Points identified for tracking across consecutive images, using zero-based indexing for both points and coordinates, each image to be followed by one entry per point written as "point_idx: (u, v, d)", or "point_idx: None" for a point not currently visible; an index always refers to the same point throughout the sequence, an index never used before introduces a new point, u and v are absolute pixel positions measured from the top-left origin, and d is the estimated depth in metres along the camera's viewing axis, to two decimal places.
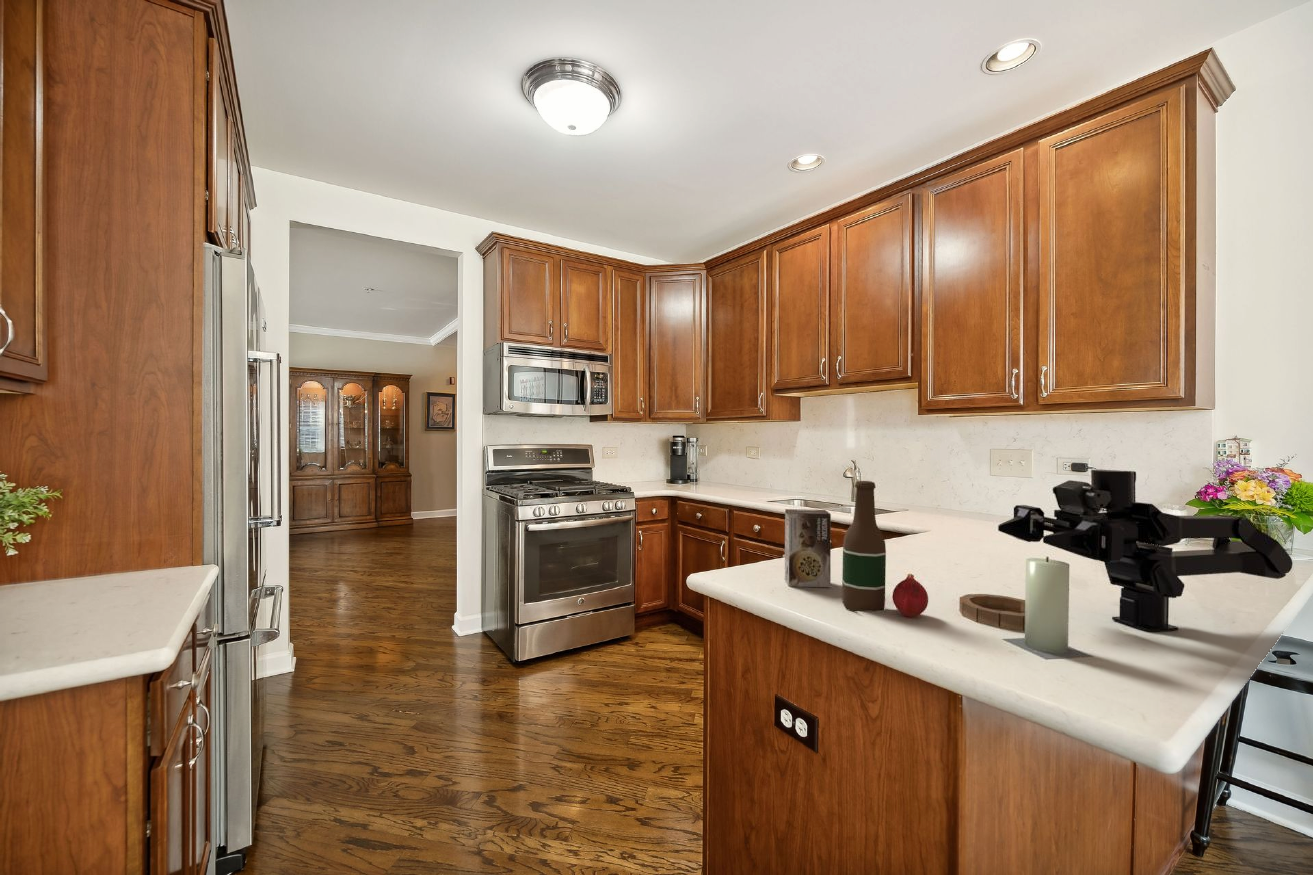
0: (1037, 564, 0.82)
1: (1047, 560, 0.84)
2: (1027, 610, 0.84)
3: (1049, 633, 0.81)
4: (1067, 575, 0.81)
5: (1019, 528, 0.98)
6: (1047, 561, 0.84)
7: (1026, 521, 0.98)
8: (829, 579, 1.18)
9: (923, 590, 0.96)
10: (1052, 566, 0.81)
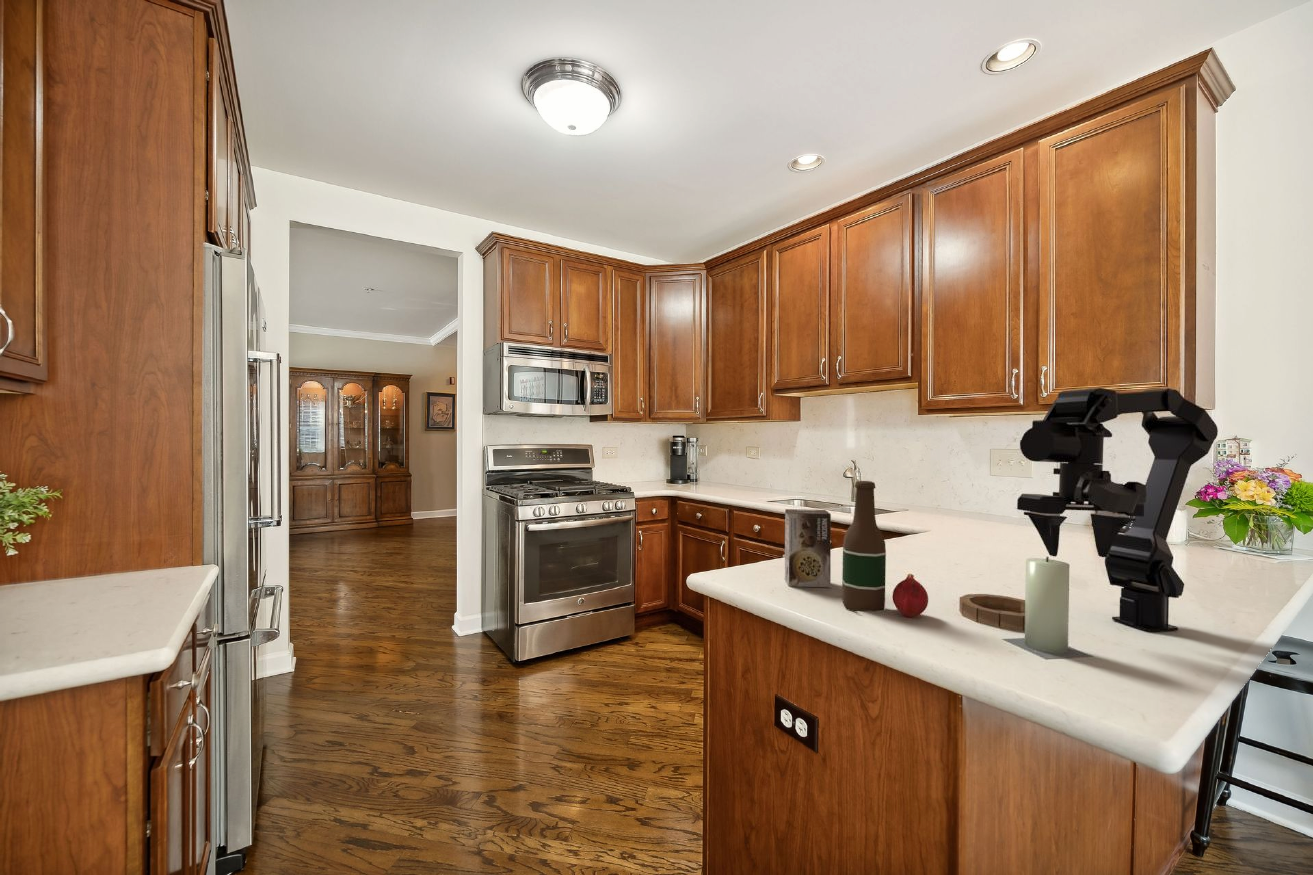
0: (1037, 564, 0.82)
1: (1047, 560, 0.84)
2: (1027, 610, 0.84)
3: (1049, 633, 0.81)
4: (1067, 575, 0.81)
5: None
6: (1047, 561, 0.84)
7: None
8: (829, 579, 1.18)
9: (923, 590, 0.96)
10: (1052, 566, 0.81)
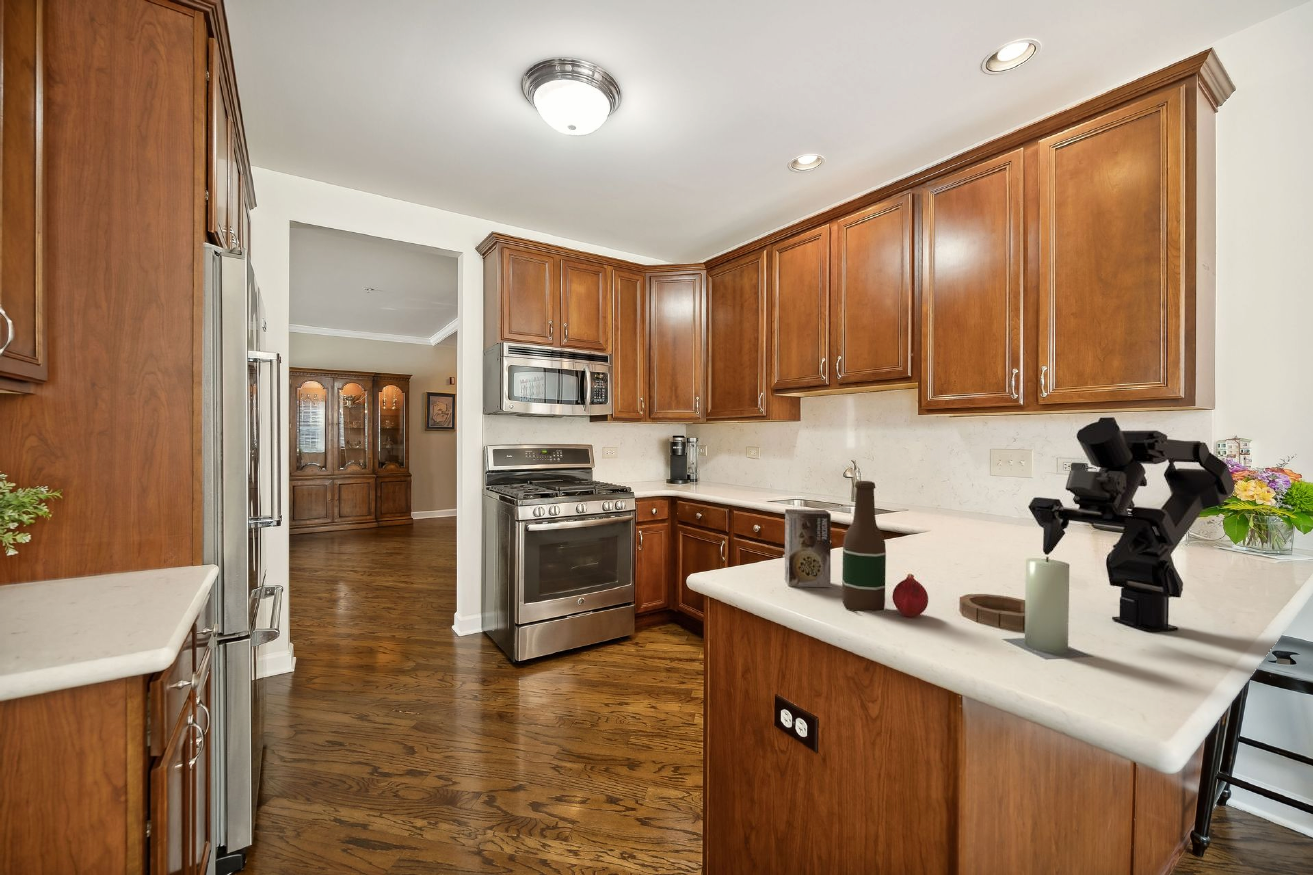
0: (1037, 564, 0.82)
1: (1047, 560, 0.84)
2: (1027, 610, 0.84)
3: (1049, 633, 0.81)
4: (1067, 575, 0.81)
5: (1055, 534, 0.93)
6: (1047, 561, 0.84)
7: (1055, 522, 0.93)
8: (829, 579, 1.18)
9: (923, 590, 0.96)
10: (1052, 566, 0.81)
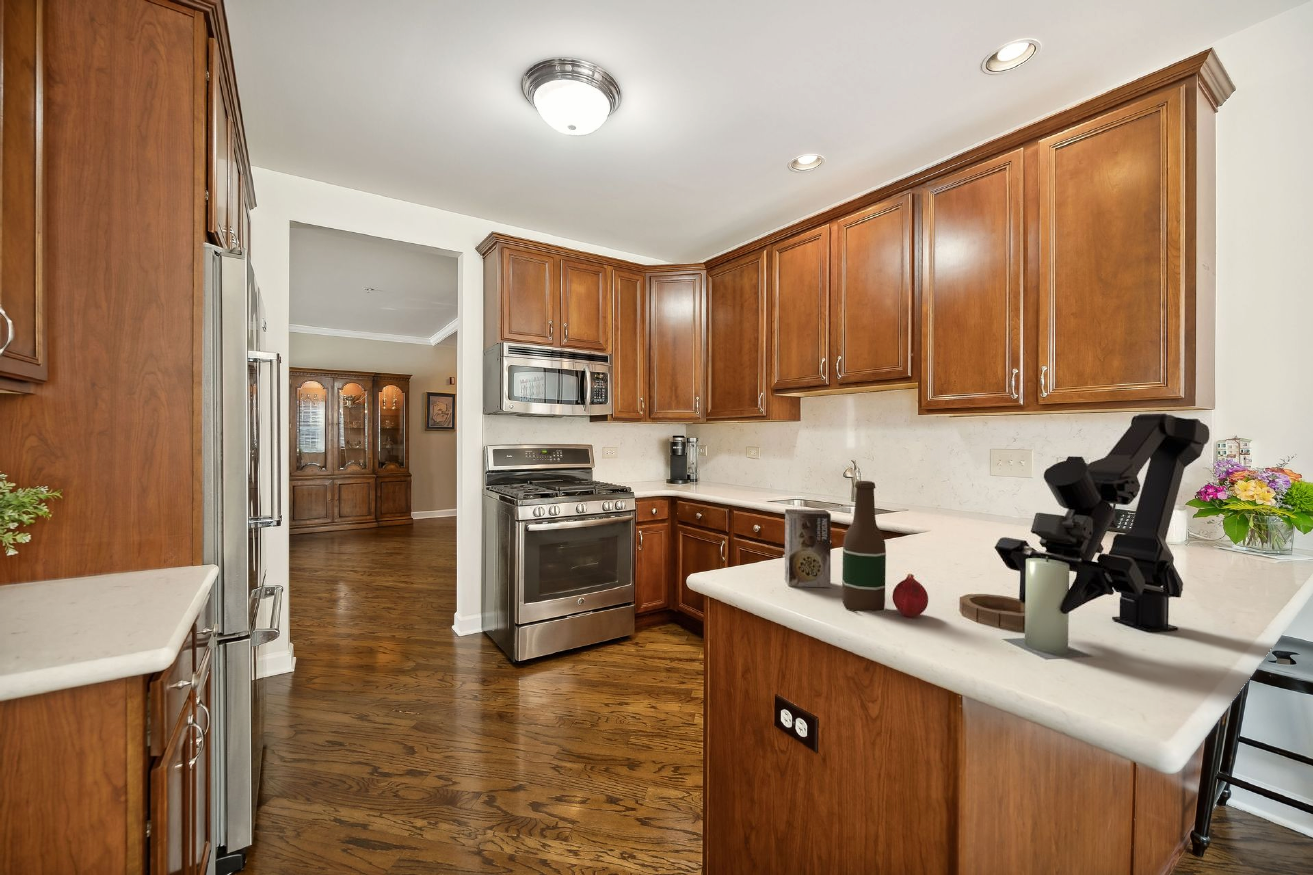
0: (1037, 564, 0.82)
1: (1047, 560, 0.84)
2: (1027, 610, 0.84)
3: (1049, 634, 0.81)
4: (1067, 575, 0.81)
5: None
6: (1047, 561, 0.84)
7: None
8: (829, 579, 1.18)
9: (923, 590, 0.96)
10: (1052, 566, 0.81)
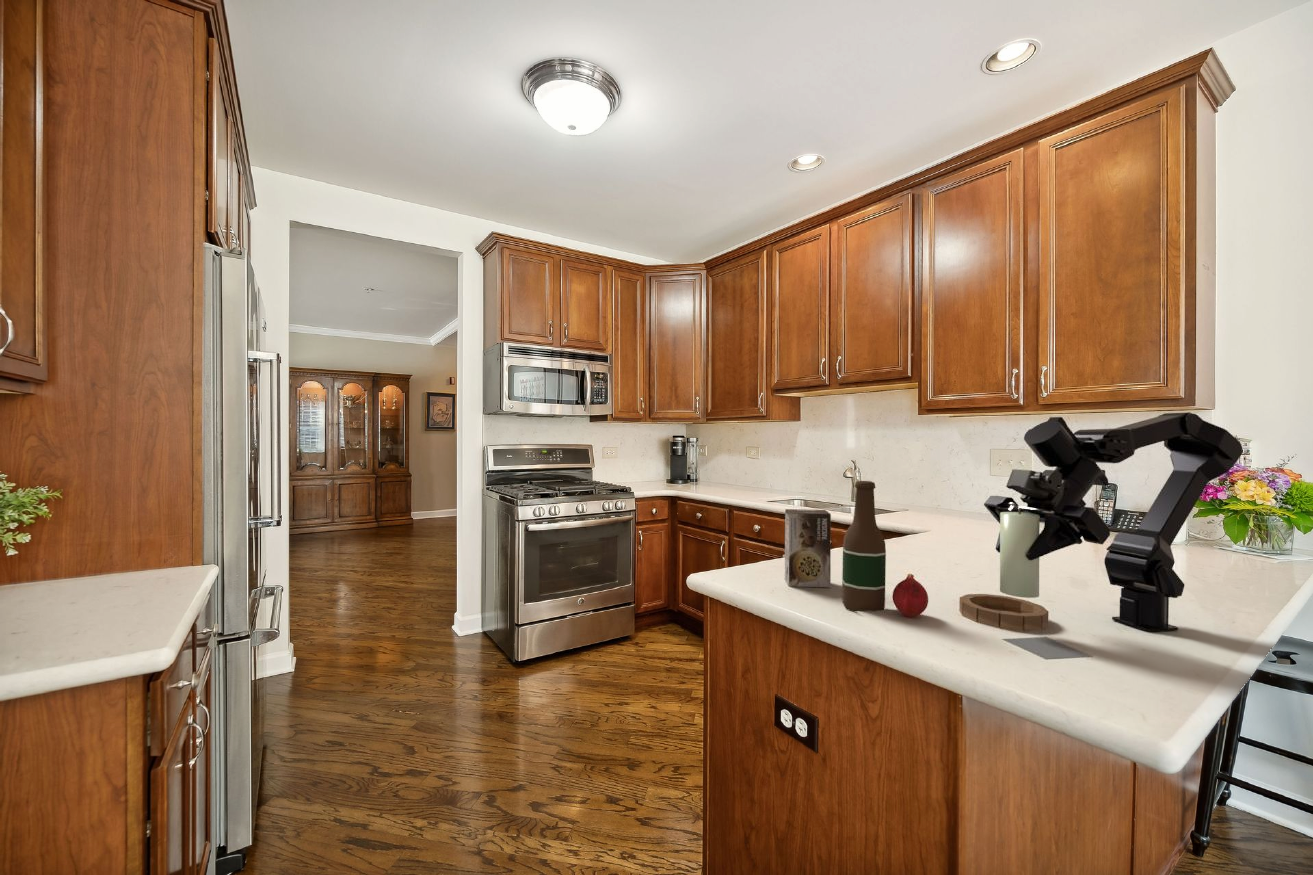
0: (1006, 515, 0.90)
1: (1019, 512, 0.90)
2: (1000, 558, 0.91)
3: (1017, 578, 0.88)
4: (1035, 525, 0.88)
5: None
6: (1019, 513, 0.90)
7: None
8: (829, 579, 1.18)
9: (923, 590, 0.96)
10: (1019, 516, 0.88)
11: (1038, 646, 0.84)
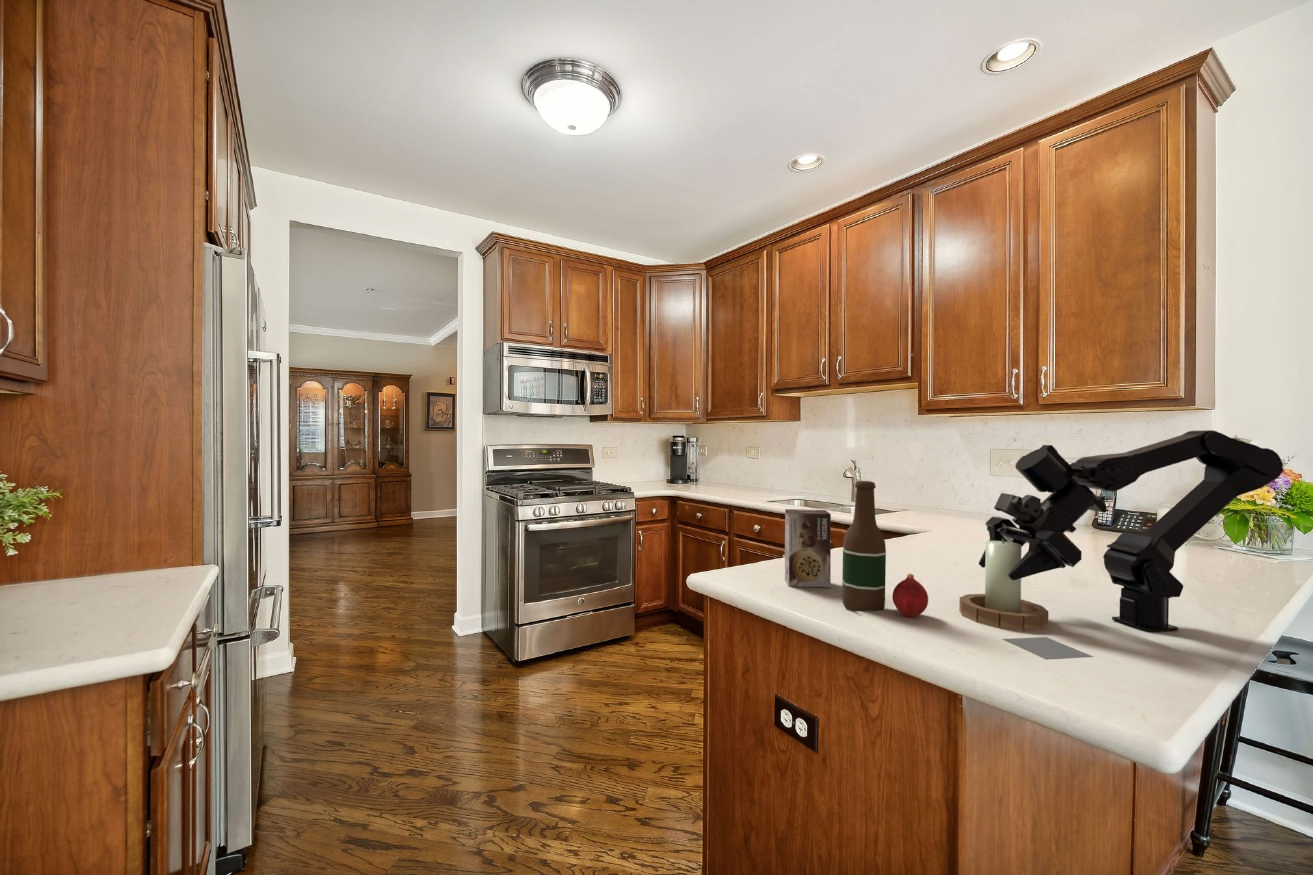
0: (988, 543, 0.98)
1: (1003, 542, 0.98)
2: (985, 583, 0.99)
3: (995, 602, 0.96)
4: (1013, 554, 0.95)
5: None
6: (1002, 542, 0.98)
7: (999, 540, 1.03)
8: (829, 579, 1.18)
9: (923, 590, 0.96)
10: (997, 545, 0.96)
11: (1038, 646, 0.84)
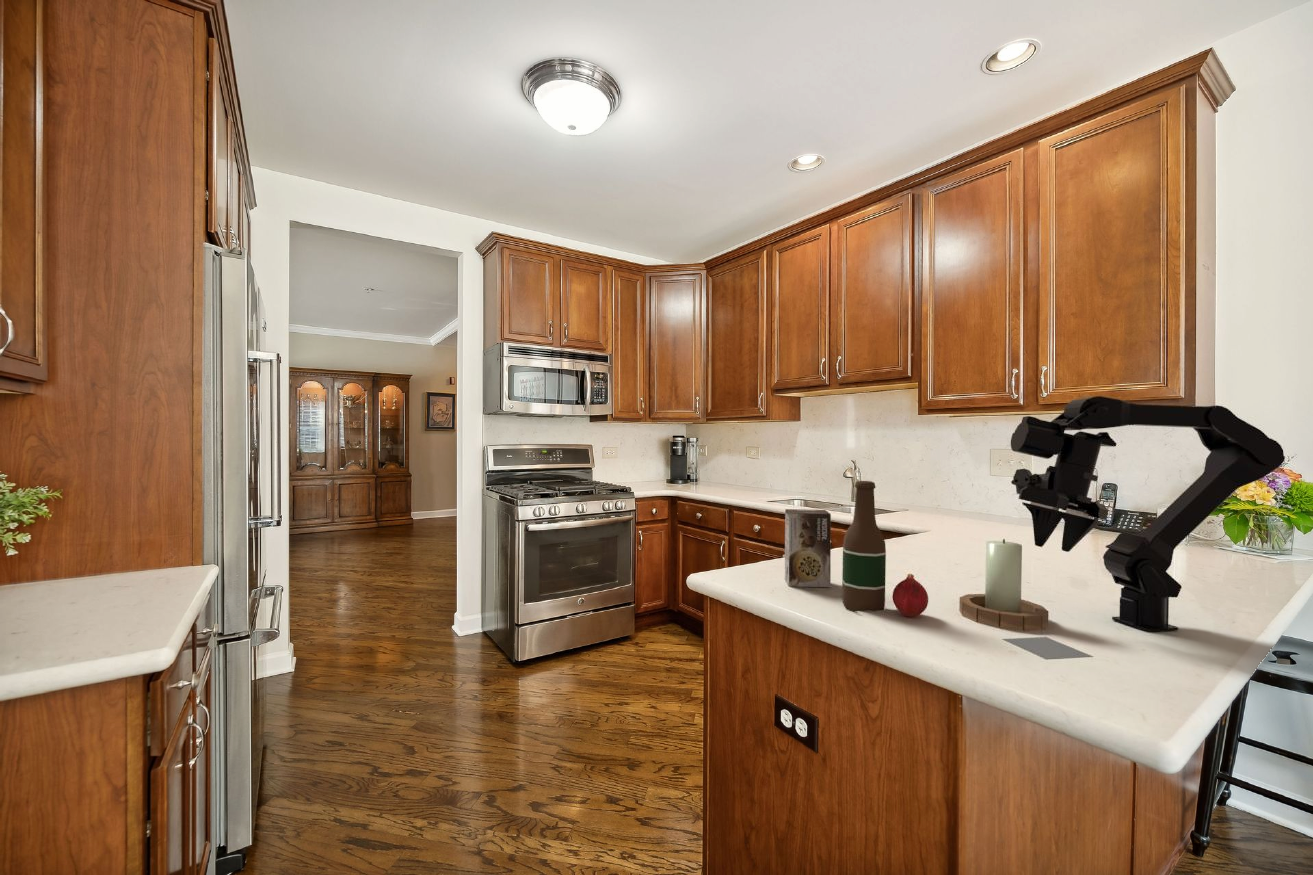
0: (988, 544, 0.98)
1: (1003, 542, 0.98)
2: (985, 583, 0.99)
3: (995, 602, 0.96)
4: (1014, 554, 0.95)
5: (1073, 529, 1.01)
6: (1003, 543, 0.98)
7: (1069, 519, 1.02)
8: (829, 579, 1.18)
9: (923, 590, 0.96)
10: (998, 545, 0.96)
11: (1038, 646, 0.84)
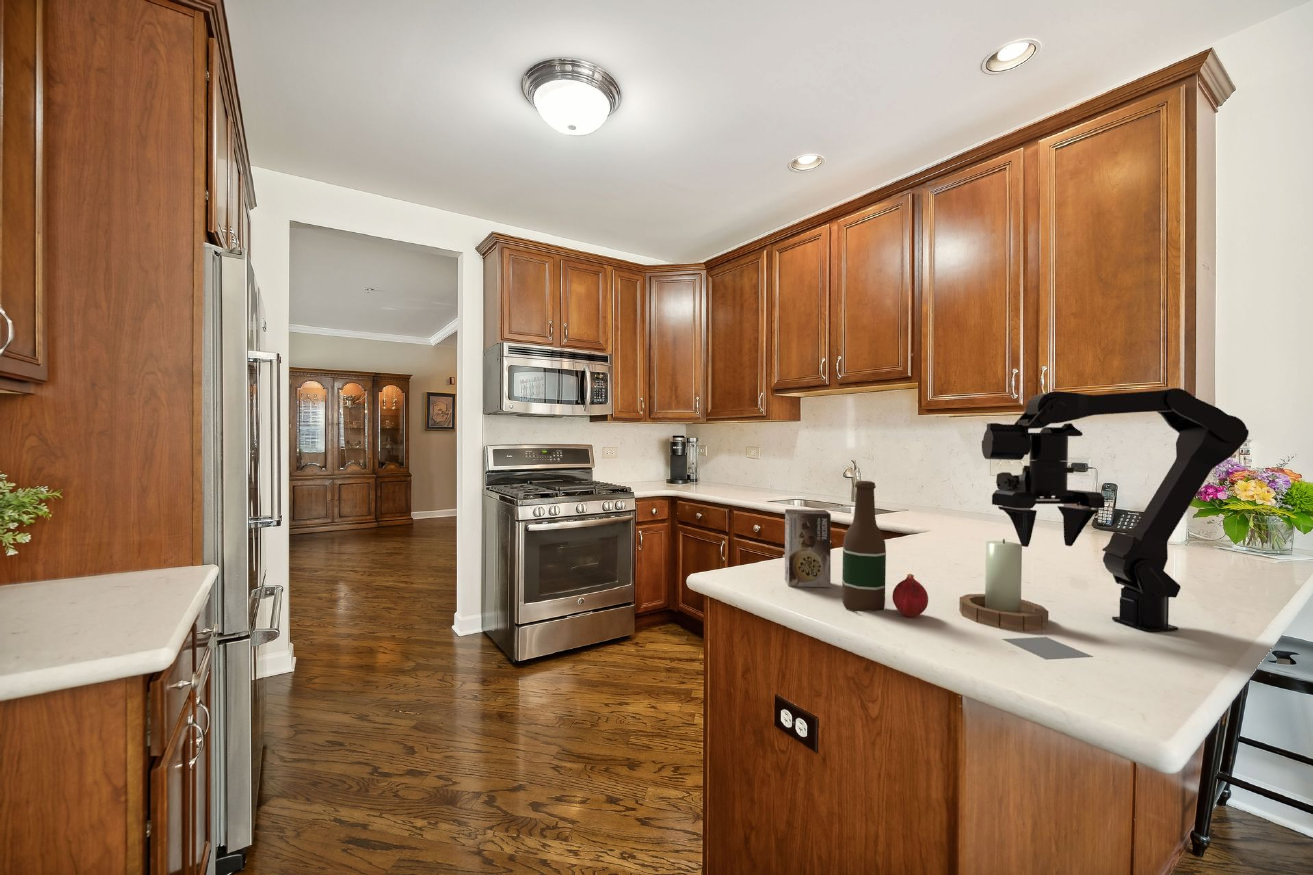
0: (988, 544, 0.98)
1: (1003, 542, 0.98)
2: (985, 583, 0.99)
3: (995, 602, 0.96)
4: (1013, 554, 0.95)
5: (1071, 522, 1.01)
6: (1003, 543, 0.98)
7: (1066, 512, 1.02)
8: (829, 579, 1.18)
9: (923, 590, 0.96)
10: (998, 545, 0.96)
11: (1038, 646, 0.84)
